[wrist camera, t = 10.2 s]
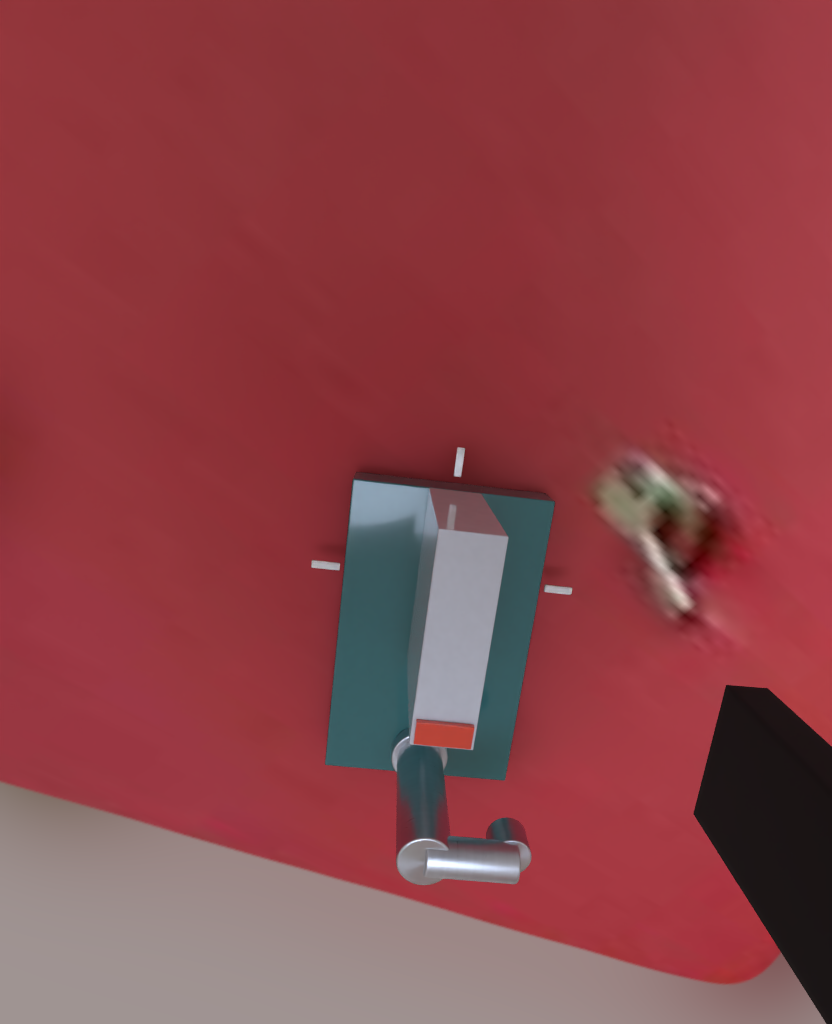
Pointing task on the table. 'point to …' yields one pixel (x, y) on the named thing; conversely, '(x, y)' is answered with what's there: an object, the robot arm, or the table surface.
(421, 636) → the white block
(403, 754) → the spout
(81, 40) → the table surface
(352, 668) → the teal base plate
